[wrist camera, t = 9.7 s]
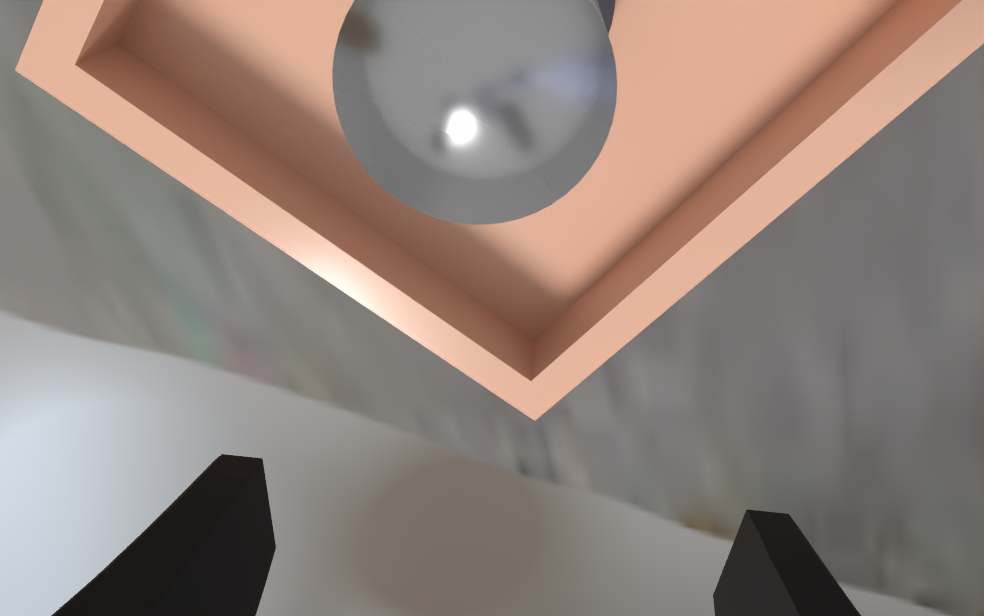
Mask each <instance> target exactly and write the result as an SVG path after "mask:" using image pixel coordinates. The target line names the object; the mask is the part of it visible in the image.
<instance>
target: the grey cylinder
mask: <svg viewBox="0 0 984 616" xmlns="http://www.w3.org/2000/svg"><path fill="white" fill-rule="evenodd" d="M614 9H615V0H354V2H353V4H352V6H351V7H350V9H349V11H348V13H347V14H346V17H345V19H344V22H343V24H342V27H341V29H340V32H339V35H338V39H337V43H336V47H335V51H334V60H333V69H332V78H333V94H334V101H335V107H336V111H337V115H338V118H339V122H340V125H341V127H342V130H343V132H344V135H345V137H346V139H347V142H348V144H349V145H350V147H351V149H352V151H353V152H354V154H355V156H356V158H357V159H358V160H359V162H360V163H361V164H362V166H363V167H364V168H365V170H366V171H367V172H368V173H369V174H370V175H371V177H372V178H373V179H374V180H375V181H376V182H377V183H378V184H379V185H380V186H381V187H383V188H384V189H385V190H386V191H387V192H389V193H390V194H391V195H392V196H394V197H395V198H397V199H398V200H400V201H401V202H403V203H404V204H406V205H407V206H409V207H411V208H413V209H415V210H417V211H419V212H421V213H424V214H426V215H429V216H432V217H435V218H437V219H441V220H445V221H450V222H454V223H462V224H470V225H488V224H497V223H505V222H509V221H513V220H517V219H521V218H523V217H526V216H529V215H531V214H534V213H537V212H538V211H540V210H542V209H544V208H546V207H548V206H550V205H552V204H553V203H554V202H556V201H557V200H559V199H560V198H562V197H563V196H565V195H566V194H567V193H568V192H569V191H570V190H571V189H572V188H574V187H575V186H576V185H577V184H578V183H579V182H580V181H581V179H582V178H583V177H584V176H585V175H586V174H587V172H588V171H589V170H590V168H591V167H592V165H593V164H594V162H595V161H596V159H597V158H598V156H599V154H600V152H601V150H602V148H603V146H604V144H605V142H606V140H607V137H608V134H609V131H610V128H611V125H612V123H613V118H614V112H615V107H616V99H617V73H616V63H615V58H614V54H613V49H612V45H611V42H610V39H609V36H608V35H609V31H610V28H611V25H612V20H613V15H614Z"/></svg>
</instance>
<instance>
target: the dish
mask: <svg viewBox="0 0 984 616" xmlns="http://www.w3.org/2000/svg"><path fill="white" fill-rule="evenodd" d="M353 2H354V0H44V1H43V3H42V5H41V8H40V10H39V13H38V15H37V18H36V20H35V23H34V25H33V28H32V30H31V32H30V35H29V37H28V40H27V42H26V45H25V47H24V50H23V52H22V55H21V57H20V59H19V62H18V64H17V67H16V69H15V71H17V72H18V73H20V74H21V75H23V76H24V77H26V78H27V79H29V80H30V81H32V82H33V83H35V84H36V85H38V86H39V87H41V88H42V89H44V90H45V91H47V92H48V93H50V94H51V95H52V96H54V97H55V98H57V99H58V100H60V101H61V102H63V103H64V104H66V105H67V106H69V107H70V108H72V109H73V110H75V111H76V112H78V113H79V114H81V115H82V116H84V117H85V118H87V119H88V120H90V121H91V122H93V123H94V124H95V125H97V126H98V127H100V128H101V129H103V130H104V131H106V132H107V133H109V134H110V135H112V136H113V137H115V138H116V139H118V140H119V141H121V142H122V143H124V144H125V145H127V146H128V147H130V148H131V149H133V150H134V151H136V152H137V153H138V154H140V155H141V156H143V157H144V158H146V159H147V160H149V161H150V162H152V163H153V164H155V165H156V166H158V167H159V168H161V169H162V170H164V171H165V172H167V173H168V174H170V175H171V176H173V177H174V178H176V179H177V180H179V181H180V182H182V183H183V184H184V185H186V186H187V187H189V188H190V189H192V190H193V191H195V192H196V193H198V194H199V195H201V196H202V197H204V198H205V199H207V200H208V201H210V202H211V203H213V204H214V205H216V206H217V207H219V208H220V209H222V210H223V211H225V212H226V213H227V214H229V215H230V216H232V217H233V218H235V219H236V220H238V221H239V222H241V223H242V224H244V225H245V226H247V227H248V228H250V229H251V230H253V231H254V232H256V233H257V234H259V235H260V236H262V237H263V238H265V239H266V240H268V241H269V242H270V243H272V244H273V245H275V246H276V247H278V248H279V249H281V250H282V251H284V252H285V253H287V254H288V255H290V256H291V257H293V258H294V259H296V260H297V261H299V262H300V263H302V264H303V265H305V266H306V267H308V268H309V269H311V270H312V271H313V272H315V273H316V274H318V275H319V276H321V277H322V278H324V279H325V280H327V281H328V282H330V283H331V284H333V285H334V286H336V287H337V288H339V289H340V290H342V291H343V292H345V293H346V294H348V295H349V296H351V297H352V298H354V299H355V300H356V301H358V302H359V303H361V304H362V305H364V306H365V307H367V308H368V309H370V310H371V311H373V312H374V313H376V314H377V315H379V316H380V317H382V318H383V319H385V320H386V321H388V322H389V323H391V324H392V325H394V326H395V327H397V328H398V329H400V330H401V331H402V332H404V333H405V334H407V335H408V336H410V337H411V338H413V339H414V340H416V341H417V342H419V343H420V344H422V345H423V346H425V347H426V348H428V349H429V350H431V351H432V352H434V353H435V354H437V355H438V356H440V357H441V358H443V359H444V360H445V361H447V362H448V363H450V364H451V365H453V366H454V367H456V368H457V369H459V370H460V371H462V372H463V373H465V374H466V375H468V376H469V377H471V378H472V379H474V380H475V381H477V382H478V383H480V384H481V385H483V386H484V387H486V388H487V389H488V390H490V391H491V392H493V393H494V394H496V395H497V396H499V397H500V398H502V399H503V400H505V401H506V402H508V403H509V404H511V405H512V406H514V407H515V408H517V409H518V410H520V411H521V412H523V413H524V414H526V415H527V416H529V417H530V418H531V419H533V420H534V421H535V420H536V419H537V418H539V417H540V416H541V415H542V414H543V413H545V412H546V411H547V410H548V409H549V408H550V407H552V406H553V405H554V404H555V403H556V402H558V401H559V400H560V399H561V398H562V397H564V396H565V395H566V394H567V393H568V392H569V391H571V390H572V389H573V388H574V387H575V386H577V385H578V384H579V383H580V382H581V381H583V380H584V379H585V378H586V377H587V376H589V375H590V374H591V373H592V372H593V371H594V370H596V369H597V368H598V367H599V366H600V365H602V364H603V363H604V362H605V361H606V360H608V359H609V358H610V357H611V356H612V355H613V354H615V353H616V352H617V351H618V350H619V349H621V348H622V347H623V346H624V345H625V344H627V343H628V342H629V341H630V340H631V339H632V338H634V337H635V336H636V335H637V334H638V333H640V332H641V331H642V330H643V329H644V328H646V327H647V326H648V325H649V324H650V323H652V322H653V321H654V320H655V319H656V318H657V317H659V316H660V315H661V314H662V313H663V312H665V311H666V310H667V309H668V308H669V307H671V306H672V305H673V304H674V303H675V302H676V301H678V300H679V299H680V298H681V297H682V296H684V295H685V294H686V293H687V292H688V291H690V290H691V289H692V288H693V287H694V286H695V285H697V284H698V283H699V282H700V281H701V280H703V279H704V278H705V277H706V276H707V275H709V274H710V273H711V272H712V271H713V270H715V269H716V268H717V267H718V266H719V265H720V264H722V263H723V262H724V261H725V260H726V259H728V258H729V257H730V256H731V255H732V254H734V253H735V252H736V251H737V250H738V249H739V248H741V247H742V246H743V245H744V244H745V243H747V242H748V241H749V240H750V239H751V238H753V237H754V236H755V235H756V234H757V233H758V232H760V231H761V230H762V229H763V228H764V227H766V226H767V225H768V224H769V223H770V222H772V221H773V220H774V219H775V218H776V217H778V216H779V215H780V214H781V213H782V212H783V211H785V210H786V209H787V208H788V207H789V206H791V205H792V204H793V203H794V202H795V201H797V200H798V199H799V198H800V197H801V196H802V195H804V194H805V193H806V192H807V191H808V190H810V189H811V188H812V187H813V186H814V185H816V184H817V183H818V182H819V181H820V180H821V179H823V178H824V177H825V176H826V175H827V174H829V173H830V172H831V171H832V170H833V169H835V168H836V167H837V166H838V165H839V164H841V163H842V162H843V161H844V160H845V159H846V158H848V157H849V156H850V155H851V154H852V153H854V152H855V151H856V150H857V149H858V148H860V147H861V146H862V145H863V144H864V143H865V142H867V141H868V140H869V139H870V138H871V137H873V136H874V135H875V134H876V133H877V132H879V131H880V130H881V129H882V128H883V127H884V126H886V125H887V124H888V123H889V122H890V121H892V120H893V119H894V118H895V117H896V116H898V115H899V114H900V113H901V112H902V111H903V110H905V109H906V108H907V107H908V106H909V105H911V104H912V103H913V102H914V101H915V100H917V99H918V98H919V97H920V96H921V95H923V94H924V93H925V92H926V91H927V90H928V89H930V88H931V87H932V86H933V85H934V84H936V83H937V82H938V81H939V80H940V79H942V78H943V77H944V76H945V75H946V74H947V73H949V72H950V71H951V70H952V69H953V68H955V67H956V66H957V65H958V64H959V63H961V62H962V61H963V60H964V59H965V58H966V57H968V56H969V55H970V54H971V53H972V52H974V51H975V50H976V49H977V48H978V47H980V46H981V45H982V44H983V43H984V0H615V9H614V15H613V20H612V25H611V28H610V31H609V35H608V36H609V39H610V42H611V45H612V49H613V54H614V58H615V63H616V73H617V99H616V107H615V112H614V118H613V123H612V125H611V128H610V131H609V134H608V137H607V140H606V142H605V144H604V146H603V148H602V150H601V152H600V154H599V156H598V158H597V159H596V161H595V162H594V164H593V165H592V167H591V168H590V170H589V171H588V172H587V174H586V175H585V176H584V177H583V178H582V179H581V181H580V182H579V183H578V184H577V185H576V186H575V187H574V188H572V189H571V190H570V191H569V192H568V193H567V194H566V195H565V196H563V197H562V198H560V199H559V200H557V201H556V202H554V203H553V204H552V205H550V206H548V207H546V208H544V209H542V210H540V211H538V212H537V213H534V214H531V215H529V216H526V217H523V218H521V219H517V220H513V221H509V222H505V223H497V224H488V225H470V224H462V223H454V222H450V221H445V220H441V219H437V218H435V217H432V216H429V215H426V214H424V213H421V212H419V211H417V210H415V209H413V208H411V207H409V206H407V205H406V204H404V203H403V202H401V201H400V200H398V199H397V198H395V197H394V196H392V195H391V194H390V193H389V192H387V191H386V190H385V189H384V188H383V187H381V186H380V185H379V184H378V183H377V182H376V181H375V180H374V179H373V178H372V177H371V175H370V174H369V173H368V172H367V171H366V170H365V168H364V167H363V166H362V164H361V163H360V162H359V160H358V159H357V158H356V156H355V154H354V152H353V151H352V149H351V147H350V145H349V144H348V142H347V139H346V137H345V135H344V132H343V130H342V127H341V125H340V122H339V118H338V115H337V111H336V107H335V101H334V94H333V78H332V69H333V60H334V51H335V47H336V43H337V39H338V35H339V32H340V29H341V27H342V24H343V22H344V19H345V17H346V14H347V13H348V11H349V9H350V7H351V6H352V4H353Z"/></svg>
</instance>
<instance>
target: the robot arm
mask: <svg viewBox="0 0 984 616" xmlns="http://www.w3.org/2000/svg"><path fill="white" fill-rule="evenodd" d="M275 549H276V546H275V539H274V532H273V526H272V519H271V513H270V506H269V500H268V493H267V486H266V480H265V473H264V466H263V460H262V459H261V458H252V457H243V456H233V455H224V454H222V455H221V456H219V457H218V458H217V459H216V460H215V461H214V462H213V463H212V464H211V465H210V466H209V467H208V468H207V469H206V470H205V471H204V472H203V473H202V474H201V475H200V476H199V477H198V478H197V479H196V480H195V481H194V482H193V483H192V484H191V485H190V486H189V487H188V488H187V489H186V490H185V491H184V492H183V493H182V494H181V495H180V496H179V497H178V498H177V499H176V500H175V501H174V502H173V503H172V504H171V505H170V506H169V507H168V508H167V509H166V510H165V511H164V512H163V513H162V514H161V515H160V516H159V517H158V518H157V519H156V520H155V521H154V522H153V523H152V524H151V525H150V526H149V527H148V528H147V529H146V530H145V531H144V532H143V533H142V534H141V535H140V536H139V537H137V538H136V539H135V541H133V542H132V543H131V544H130V545H129V546H128V547H127V548H126V549H125V550H124V551H123V552H122V553H121V554H120V555H118V556H117V557H116V558H115V559H114V560H113V561H112V562H111V563H110V564H109V565H108V566H107V567H106V568H105V569H104V570H103V571H102V572H100V573H99V574H98V575H97V576H96V577H95V578H94V579H93V580H92V581H91V582H90V583H88V584H87V585H86V586H85V587H84V588H83V589H81V590H80V591H79V592H78V593H77V594H76V595H75V596H73V598H71V599H70V600H69V601H68V602H67V603H65V604H64V605H63V606H62V607H61V608H60V609H59V610H58V611H56V612H55V613H54V614H53V615H52V616H255V615H256V612H257V609H258V606H259V603H260V599H261V596H262V593H263V590H264V586H265V583H266V580H267V576H268V572H269V569H270V566H271V562H272V559H273V556H274V552H275ZM713 598H714V608H715V616H861V615H860V614H859V612H858V611H857V610H856V608H855V607H854V606H853V604H852V603H851V601H850V600H849V599H848V597H847V596H846V594H845V593H844V591H843V590H842V589H841V587H840V586H839V584H838V583H837V582H836V580H835V579H834V577H833V576H832V575H831V573H830V572H829V570H828V569H827V567H826V566H825V565H824V563H823V562H822V560H821V559H820V557H819V556H818V555H817V553H816V552H815V550H814V549H813V547H812V546H811V545H810V543H809V542H808V540H807V539H806V537H805V536H804V535H803V533H802V532H801V530H800V529H799V527H798V526H797V525H796V523H795V522H794V520H793V519H792V518H791V517H790V515H789V514H783V513H774V512H764V511H755V510H746V513H745V515H744V518H743V520H742V523H741V525H740V528H739V530H738V533H737V536H736V538H735V541H734V543H733V546H732V548H731V551H730V553H729V556H728V559H727V561H726V564H725V566H724V569H723V571H722V574H721V576H720V579H719V582H718V584H717V587H716V589H715V592H714V595H713Z"/></svg>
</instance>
